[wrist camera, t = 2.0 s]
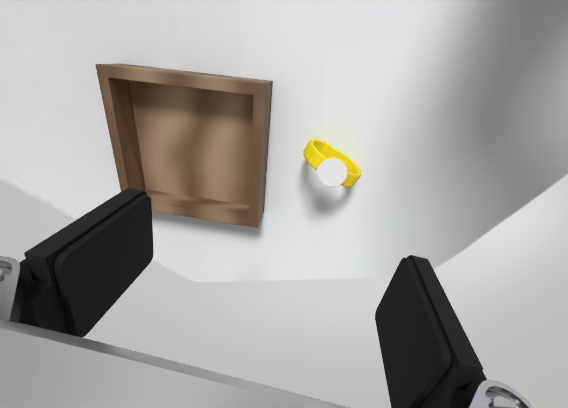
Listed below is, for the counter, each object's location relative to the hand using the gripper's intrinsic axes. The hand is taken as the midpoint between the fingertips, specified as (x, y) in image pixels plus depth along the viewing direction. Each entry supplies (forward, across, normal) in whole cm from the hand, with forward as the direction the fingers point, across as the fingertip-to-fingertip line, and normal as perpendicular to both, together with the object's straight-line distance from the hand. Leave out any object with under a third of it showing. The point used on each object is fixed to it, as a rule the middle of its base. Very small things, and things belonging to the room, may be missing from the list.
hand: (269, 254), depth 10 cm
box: (+22, +12, +4) cm, 25 cm away
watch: (+22, -3, +2) cm, 22 cm away
